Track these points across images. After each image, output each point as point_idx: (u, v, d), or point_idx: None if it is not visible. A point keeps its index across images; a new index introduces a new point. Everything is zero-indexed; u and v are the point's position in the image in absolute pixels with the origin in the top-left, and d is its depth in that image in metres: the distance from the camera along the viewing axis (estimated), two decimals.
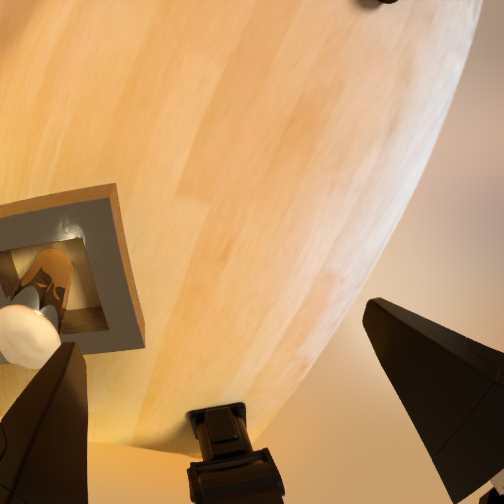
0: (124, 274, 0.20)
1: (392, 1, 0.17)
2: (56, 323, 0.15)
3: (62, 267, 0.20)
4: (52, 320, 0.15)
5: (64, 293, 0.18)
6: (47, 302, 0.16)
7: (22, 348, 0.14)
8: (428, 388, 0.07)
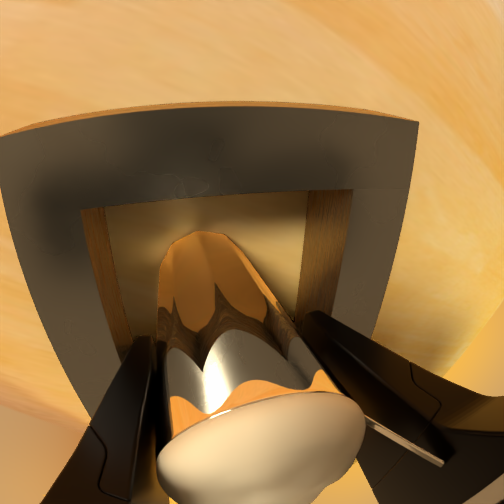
0: (195, 109, 0.07)
1: None
2: (240, 381, 0.05)
3: (181, 261, 0.10)
4: (221, 395, 0.05)
5: (216, 285, 0.08)
6: (183, 371, 0.06)
7: (273, 500, 0.05)
8: None
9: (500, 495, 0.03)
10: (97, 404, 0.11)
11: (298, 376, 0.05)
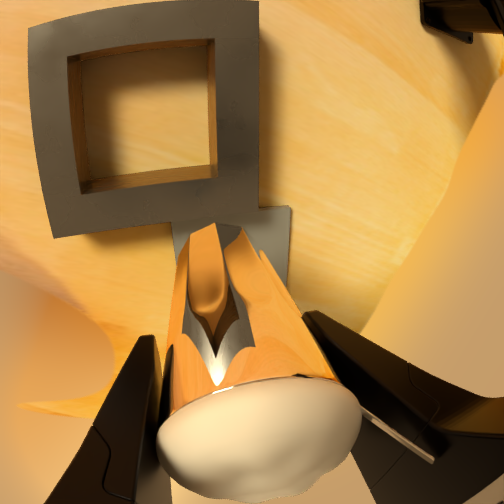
0: (125, 6, 0.11)
1: None
2: (238, 363, 0.06)
3: (196, 251, 0.11)
4: (219, 375, 0.05)
5: (227, 274, 0.09)
6: (188, 352, 0.06)
7: (264, 483, 0.05)
8: None
9: (498, 497, 0.03)
10: (55, 205, 0.15)
11: (294, 362, 0.06)
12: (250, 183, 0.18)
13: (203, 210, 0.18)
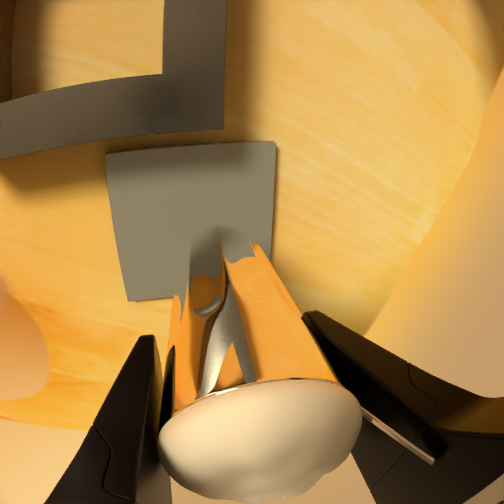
0: None
1: None
2: (239, 365, 0.06)
3: (197, 252, 0.11)
4: (220, 377, 0.05)
5: (227, 276, 0.09)
6: (189, 354, 0.06)
7: (265, 484, 0.05)
8: None
9: (498, 497, 0.03)
10: None
11: (295, 363, 0.06)
12: (211, 85, 0.11)
13: (139, 123, 0.11)
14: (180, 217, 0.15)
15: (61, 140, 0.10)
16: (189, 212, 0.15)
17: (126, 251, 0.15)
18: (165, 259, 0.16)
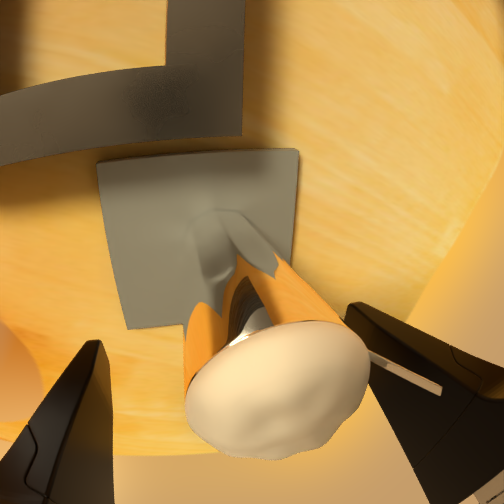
0: None
1: None
2: (259, 313, 0.07)
3: (201, 234, 0.11)
4: (244, 325, 0.06)
5: (234, 248, 0.10)
6: (210, 313, 0.07)
7: (290, 429, 0.06)
8: (408, 397, 0.07)
9: None
10: None
11: (308, 309, 0.07)
12: (227, 80, 0.09)
13: (136, 128, 0.08)
14: None
15: (41, 149, 0.08)
16: None
17: (124, 275, 0.13)
18: (169, 284, 0.14)
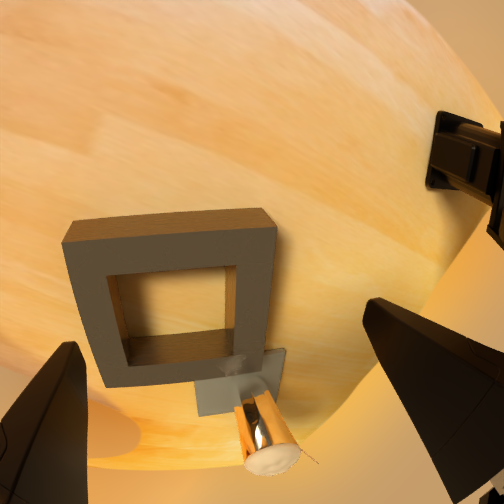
0: (155, 235, 0.17)
1: None
2: (267, 441, 0.21)
3: (242, 393, 0.26)
4: (263, 444, 0.21)
5: (257, 408, 0.24)
6: (252, 437, 0.22)
7: (274, 468, 0.21)
8: (428, 388, 0.07)
9: None
10: (107, 370, 0.20)
11: (280, 439, 0.21)
12: (257, 357, 0.23)
13: (221, 373, 0.23)
14: None
15: (180, 380, 0.22)
16: None
17: (201, 399, 0.28)
18: (222, 400, 0.29)
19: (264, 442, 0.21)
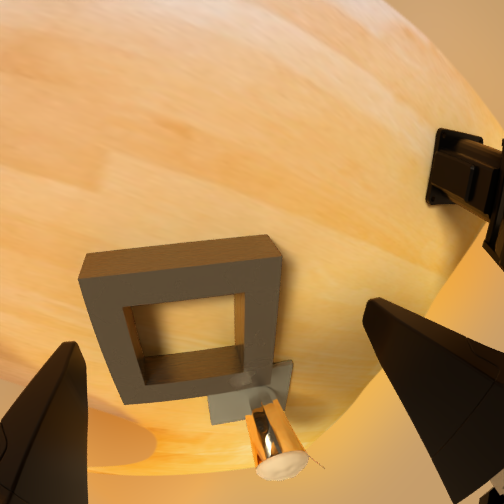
0: (167, 269, 0.18)
1: None
2: (277, 449, 0.22)
3: (252, 404, 0.27)
4: (273, 452, 0.22)
5: (267, 418, 0.25)
6: (263, 446, 0.23)
7: (284, 474, 0.22)
8: (428, 388, 0.07)
9: None
10: (125, 389, 0.21)
11: (289, 447, 0.22)
12: (266, 372, 0.24)
13: (232, 388, 0.24)
14: None
15: (194, 395, 0.23)
16: None
17: (214, 409, 0.29)
18: (233, 409, 0.30)
19: (274, 450, 0.22)
